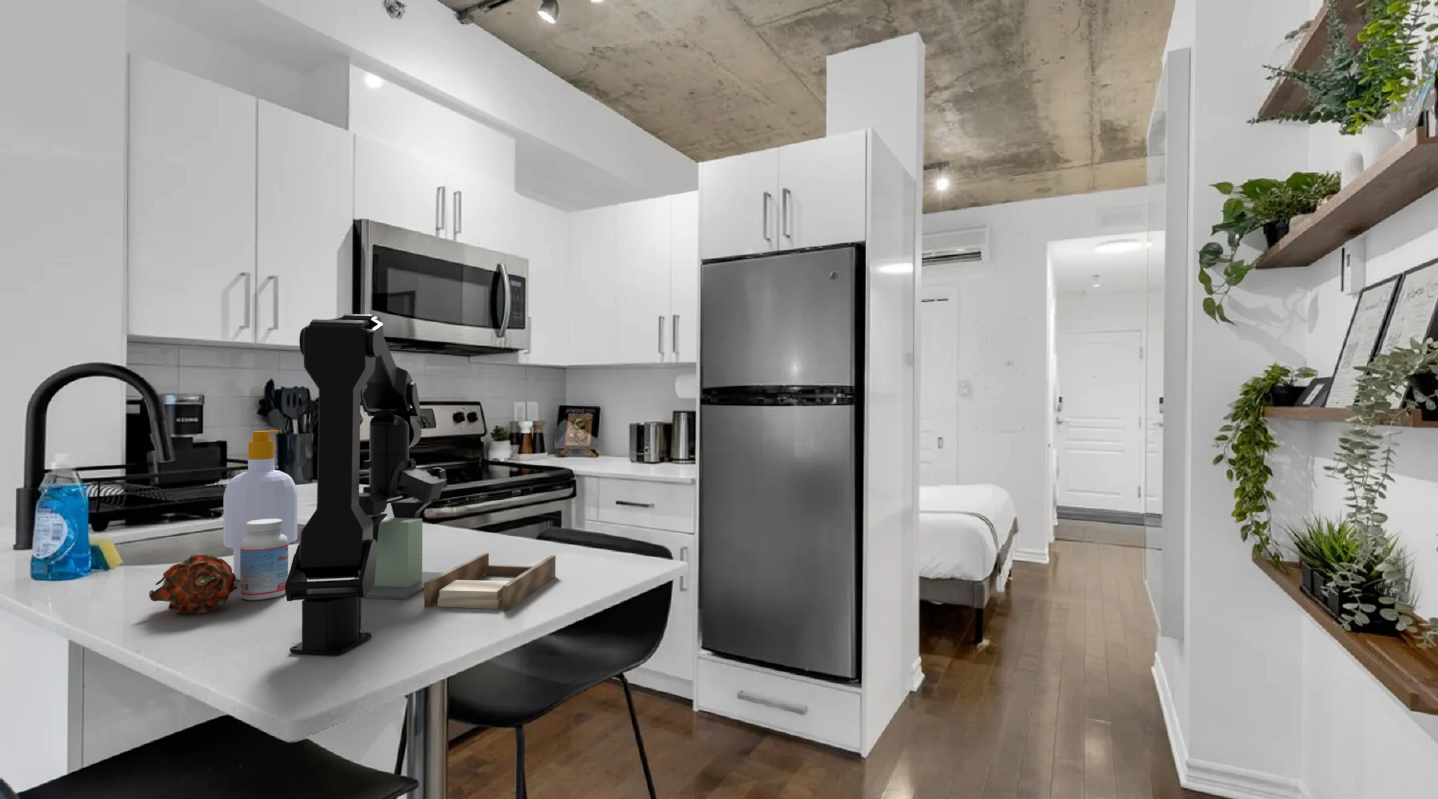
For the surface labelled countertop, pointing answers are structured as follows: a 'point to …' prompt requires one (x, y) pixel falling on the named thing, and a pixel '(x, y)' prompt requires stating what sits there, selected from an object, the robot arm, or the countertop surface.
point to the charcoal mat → (401, 589)
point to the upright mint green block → (399, 552)
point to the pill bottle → (263, 560)
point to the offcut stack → (472, 594)
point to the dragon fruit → (196, 584)
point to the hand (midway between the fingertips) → (389, 551)
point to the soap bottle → (258, 497)
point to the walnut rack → (479, 567)
